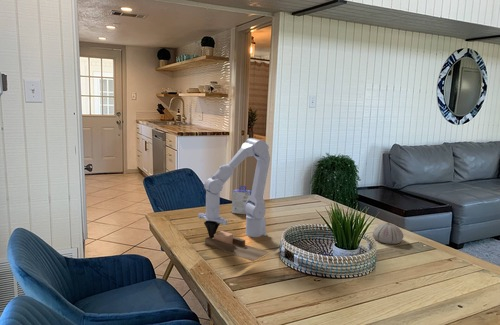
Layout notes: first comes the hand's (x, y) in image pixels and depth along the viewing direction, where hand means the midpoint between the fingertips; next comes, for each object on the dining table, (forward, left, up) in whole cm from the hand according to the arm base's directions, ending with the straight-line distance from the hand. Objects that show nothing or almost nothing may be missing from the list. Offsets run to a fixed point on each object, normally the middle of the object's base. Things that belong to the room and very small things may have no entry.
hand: (211, 237), depth 165 cm
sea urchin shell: (-54, +58, -3) cm, 79 cm away
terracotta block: (0, +6, -1) cm, 6 cm away
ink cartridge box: (-43, -16, -3) cm, 46 cm away
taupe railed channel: (0, +12, -2) cm, 12 cm away
